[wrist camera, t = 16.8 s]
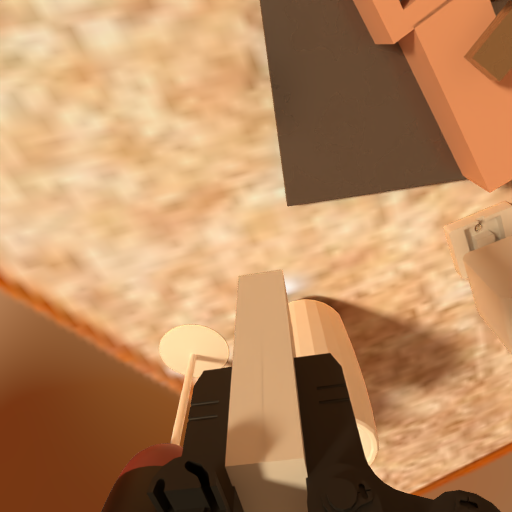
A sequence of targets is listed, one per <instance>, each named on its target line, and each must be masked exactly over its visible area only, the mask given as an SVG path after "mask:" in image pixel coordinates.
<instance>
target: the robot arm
mask: <svg viewBox="0 0 512 512" xmlns="http://www.w3.org/2000/svg"><path fill="white" fill-rule="evenodd" d="M188 419H189V422H188V423H187V429H186V434H185V440H184V446H183V451H182V456H181V457H177V458H174V459H172V460H171V461H170V462H168V463H167V464H165V465H164V466H162V467H161V468H160V470H159V471H158V472H157V473H156V475H155V476H154V477H153V478H152V480H151V483H150V485H149V488H148V490H147V492H146V493H147V495H148V497H149V499H150V500H151V502H152V504H153V505H154V507H155V509H156V510H157V511H156V512H500V511H499V510H498V509H497V508H496V507H495V506H494V505H493V504H492V503H491V502H489V501H487V500H485V499H484V498H482V497H480V496H479V495H477V494H474V493H470V492H465V491H461V490H456V491H449V492H444V493H443V494H441V495H440V496H439V497H437V498H436V499H434V500H432V499H428V498H424V497H420V496H416V495H412V494H407V493H404V492H401V491H399V490H396V489H393V488H392V487H390V486H389V485H387V484H385V483H384V482H383V481H381V480H380V479H379V478H378V477H377V476H376V475H375V474H374V472H373V471H372V469H371V468H370V466H369V465H368V462H367V460H366V457H365V454H364V450H363V447H362V443H361V439H360V435H359V431H358V427H357V424H356V420H355V416H354V412H353V408H352V404H351V401H350V397H349V393H348V389H347V386H346V381H345V377H344V374H343V370H342V366H341V365H340V364H339V363H338V362H337V360H336V359H335V358H334V357H333V356H332V355H331V353H326V354H318V355H310V356H303V357H296V351H295V343H294V335H293V328H292V322H291V317H290V311H289V305H288V299H287V293H286V287H285V282H284V276H283V270H275V271H269V272H262V273H256V274H249V275H243V276H239V277H238V291H237V305H236V319H235V333H234V347H233V361H232V367H227V368H220V369H212V370H204V371H203V373H202V374H201V376H200V377H199V379H198V381H197V382H196V384H195V385H194V389H193V395H192V400H191V407H190V412H189V417H188Z"/></svg>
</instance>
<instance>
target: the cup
mask: <svg viewBox="0 0 512 512" xmlns="http://www.w3.org/2000/svg"><path fill="white" fill-rule="evenodd" d="M288 305H289V311H290V317H291V322H292V328H293V335H294V343H295V351H296V357H303V356H310V355H318V354H326V353H331V355H332V356H333V357H334V358H335V359H336V360H337V362H338V363H339V364H340V365H341V366H342V370H343V374H344V377H345V381H346V386H347V389H348V393H349V397H350V401H351V404H352V408H353V412H354V416H355V420H356V424H357V427H358V431H359V435H360V439H361V443H362V447H363V450H364V454H365V457H366V460H367V462H368V465H369V466H370V465H371V463H372V462H373V461H374V459H375V458H376V455H377V452H378V450H379V441H378V435H377V430H376V425H375V421H374V416H373V411H372V407H371V403H370V399H369V395H368V392H367V388H366V384H365V381H364V378H363V375H362V372H361V369H360V366H359V363H358V360H357V358H356V355H355V352H354V349H353V347H352V344H351V341H350V339H349V336H348V334H347V331H346V329H345V326H344V324H343V322H342V319H341V317H340V315H339V313H338V312H336V311H335V310H334V309H333V308H332V307H330V306H329V305H327V304H325V303H323V302H320V301H316V300H309V299H301V300H296V301H292V302H289V303H288Z"/></svg>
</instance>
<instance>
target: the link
mask: <svg viewBox="0 0 512 512" xmlns="http://www.w3.org/2000/svg"><path fill="white" fill-rule="evenodd" d="M353 1H354V3H355V5H356V7H357V9H358V11H359V13H360V15H361V17H362V19H363V21H364V23H365V25H366V27H367V29H368V31H369V33H370V35H371V37H372V39H373V41H374V43H375V44H395V43H396V42H397V41H398V43H399V45H400V47H401V49H402V51H403V53H404V55H405V57H406V59H407V62H408V64H409V66H410V68H411V70H412V72H413V74H414V76H415V78H416V80H417V82H418V84H419V86H420V88H421V90H422V93H423V95H424V97H425V99H426V101H427V103H428V105H429V107H430V109H431V111H432V113H433V115H434V117H435V119H436V121H437V123H438V126H439V128H440V130H441V132H442V134H443V136H444V138H445V140H446V142H447V144H448V146H449V148H450V150H451V152H452V154H453V156H454V159H455V161H456V163H457V165H458V167H459V169H460V171H461V173H462V175H463V176H464V177H466V178H467V179H469V180H470V181H472V182H474V183H475V184H477V185H478V186H480V187H482V188H483V189H485V190H486V191H488V192H489V193H490V192H492V191H493V190H495V189H497V188H499V187H500V186H502V185H504V184H506V183H507V182H509V181H511V180H512V68H511V69H510V70H509V71H508V73H507V74H506V75H505V76H504V77H503V78H502V79H501V81H500V82H499V81H493V80H489V79H488V78H487V77H486V76H485V75H484V74H482V73H481V72H480V71H479V70H478V69H477V68H476V67H474V66H473V65H472V64H471V63H470V62H469V61H467V60H466V59H465V58H464V56H465V55H466V53H467V52H468V51H469V50H470V48H471V47H472V46H473V45H474V43H475V42H476V41H477V40H478V38H479V37H480V36H481V35H482V33H483V32H484V31H485V30H486V28H487V27H488V26H489V25H490V23H491V22H492V21H493V20H494V19H495V17H496V15H495V12H494V10H493V7H492V4H491V2H490V0H402V1H401V2H400V1H399V0H353Z"/></svg>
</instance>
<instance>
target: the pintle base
mask: <svg viewBox="0 0 512 512" xmlns="http://www.w3.org/2000/svg"><path fill="white" fill-rule="evenodd" d="M399 1H400V2H401V1H402V0H399ZM490 2H491V4H492V7H493V10H494V12H495V15H496V17H495V19H494V20H493V21H492V22H491V23H490V25H489V26H488V27H487V28H486V30H485V31H484V32H483V33H482V35H481V36H480V37H479V38H478V40H477V41H476V42H475V43H474V45H473V46H472V47H471V48H470V50H469V51H468V52H467V53H466V55H465V56H464V58H465V59H466V60H467V61H469V62H470V63H471V64H472V65H473V66H474V67H476V68H477V69H478V70H479V71H480V72H481V73H482V74H484V75H485V76H486V77H487V78H488V79H489V80H493V81H499V82H500V81H501V79H502V78H503V77H504V76H505V75H506V74H507V73H508V71H509V70H510V69H511V68H512V0H490ZM260 6H261V14H262V21H263V29H264V36H265V44H266V51H267V59H268V66H269V74H270V81H271V88H272V96H273V103H274V111H275V118H276V126H277V133H278V141H279V148H280V156H281V163H282V171H283V178H284V186H285V193H286V201H287V206H293V205H299V204H306V203H312V202H319V201H325V200H332V199H338V198H345V197H352V196H358V195H365V194H371V193H378V192H384V191H391V190H397V189H404V188H410V187H417V186H424V185H430V184H437V183H443V182H450V181H456V180H463V179H467V178H466V177H464V176H463V175H462V173H461V171H460V169H459V167H458V165H457V163H456V161H455V159H454V156H453V154H452V152H451V150H450V148H449V146H448V144H447V142H446V140H445V138H444V136H443V134H442V132H441V130H440V128H439V126H438V123H437V121H436V119H435V117H434V115H433V113H432V111H431V109H430V107H429V105H428V103H427V101H426V99H425V97H424V95H423V93H422V90H421V88H420V86H419V84H418V82H417V80H416V78H415V76H414V74H413V72H412V70H411V68H410V66H409V64H408V62H407V59H406V57H405V55H404V53H403V51H402V49H401V47H400V45H399V43H398V41H397V42H396V43H395V44H375V43H374V41H373V39H372V37H371V35H370V33H369V31H368V29H367V27H366V25H365V23H364V21H363V19H362V17H361V15H360V13H359V11H358V9H357V7H356V5H355V3H354V1H353V0H260Z"/></svg>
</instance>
